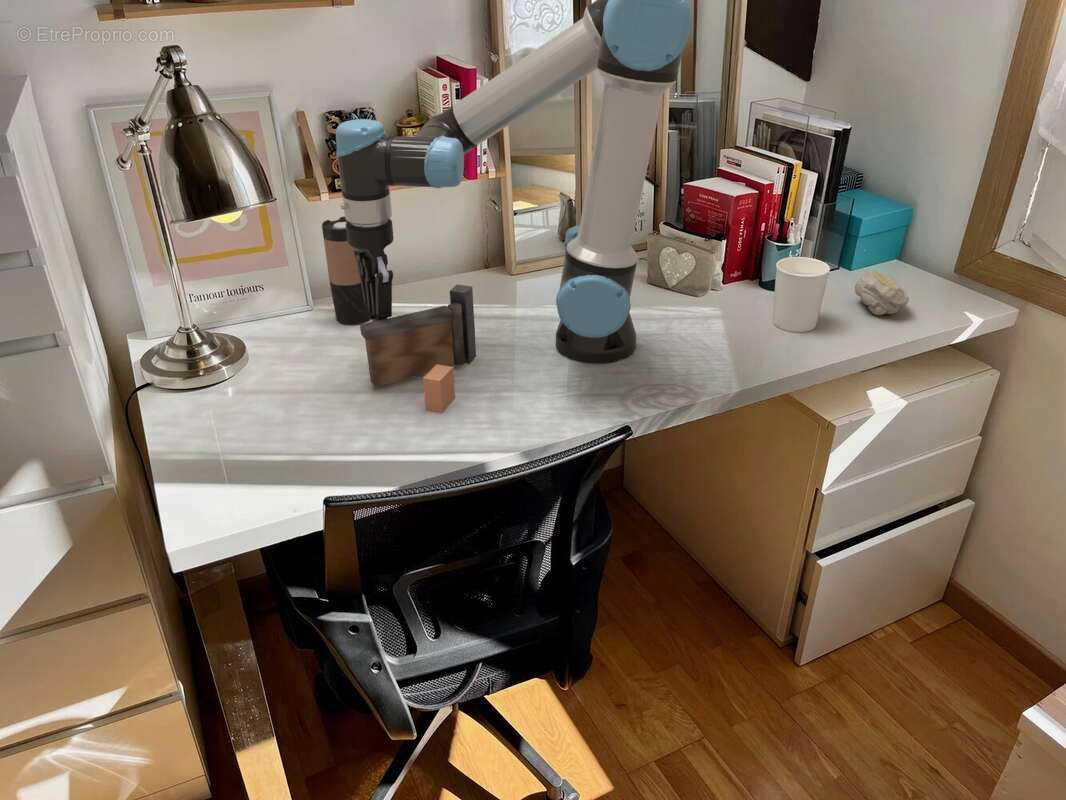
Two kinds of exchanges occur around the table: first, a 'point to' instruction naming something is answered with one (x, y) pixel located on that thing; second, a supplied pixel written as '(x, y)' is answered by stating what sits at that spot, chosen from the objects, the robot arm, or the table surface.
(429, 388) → the block
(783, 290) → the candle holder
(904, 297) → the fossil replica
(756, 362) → the table surface
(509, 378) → the table surface
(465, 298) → the hinge post
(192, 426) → the table surface
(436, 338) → the walnut gate
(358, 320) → the travel mug
